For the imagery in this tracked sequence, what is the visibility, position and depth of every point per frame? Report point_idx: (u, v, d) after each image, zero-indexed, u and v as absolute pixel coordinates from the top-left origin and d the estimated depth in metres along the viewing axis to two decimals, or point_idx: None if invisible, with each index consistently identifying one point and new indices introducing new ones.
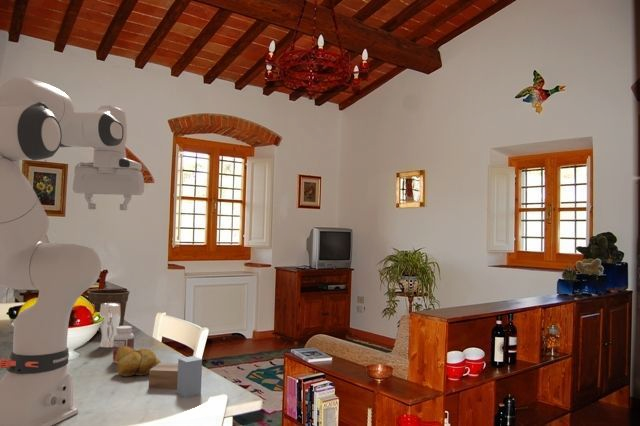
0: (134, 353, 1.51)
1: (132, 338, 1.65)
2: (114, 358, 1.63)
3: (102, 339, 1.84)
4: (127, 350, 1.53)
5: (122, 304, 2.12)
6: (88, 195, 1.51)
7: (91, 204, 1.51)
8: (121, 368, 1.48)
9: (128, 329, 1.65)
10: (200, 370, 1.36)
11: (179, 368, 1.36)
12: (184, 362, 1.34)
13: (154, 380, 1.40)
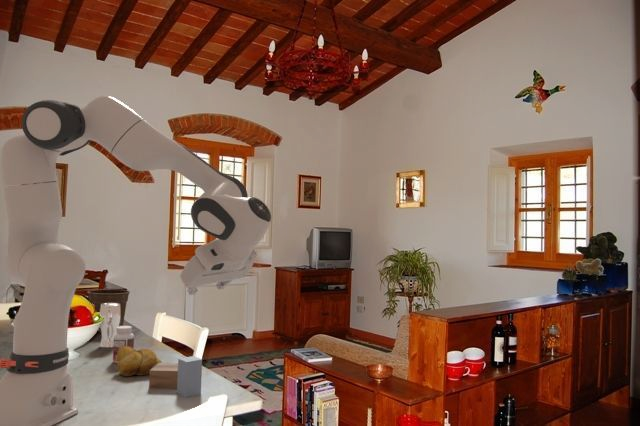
0: (134, 353, 1.51)
1: (132, 338, 1.65)
2: (114, 358, 1.63)
3: (102, 339, 1.84)
4: (127, 350, 1.53)
5: (122, 304, 2.12)
6: None
7: None
8: (122, 368, 1.49)
9: (128, 329, 1.65)
10: (200, 370, 1.36)
11: (179, 368, 1.36)
12: (184, 362, 1.34)
13: (154, 381, 1.40)
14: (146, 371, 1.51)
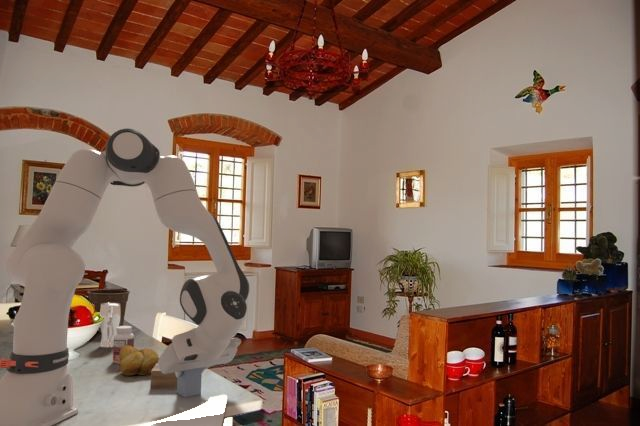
0: (136, 352, 1.52)
1: (132, 338, 1.65)
2: (114, 358, 1.63)
3: (102, 339, 1.84)
4: (129, 349, 1.53)
5: (122, 304, 2.12)
6: None
7: None
8: (123, 367, 1.49)
9: (128, 329, 1.65)
10: (200, 370, 1.36)
11: None
12: None
13: (156, 381, 1.39)
14: (147, 371, 1.51)
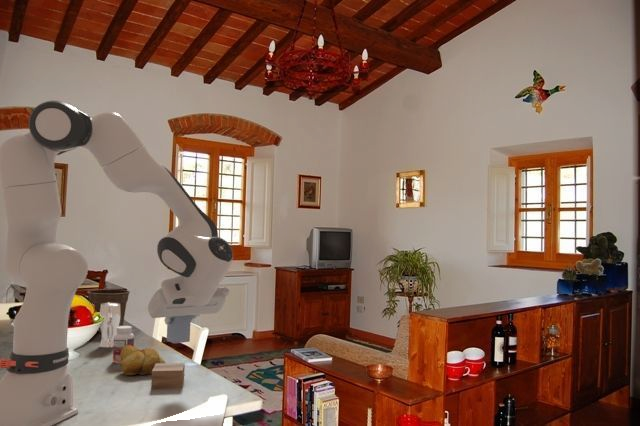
0: (137, 352, 1.52)
1: (132, 338, 1.65)
2: (114, 358, 1.63)
3: (102, 339, 1.84)
4: (131, 349, 1.54)
5: (122, 304, 2.12)
6: None
7: None
8: (124, 367, 1.49)
9: (128, 329, 1.65)
10: (189, 318, 1.40)
11: None
12: None
13: (156, 381, 1.39)
14: (148, 370, 1.51)
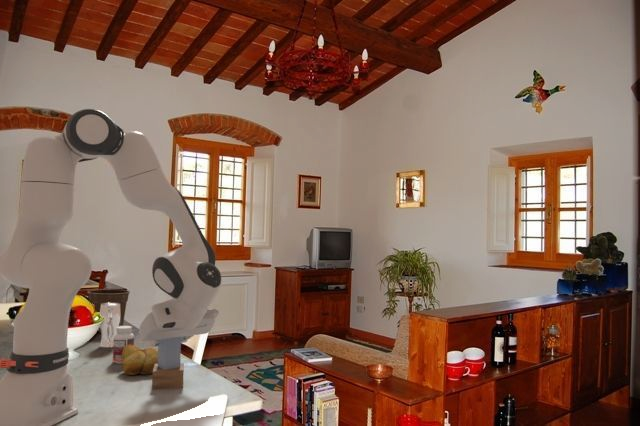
0: (138, 352, 1.53)
1: (132, 338, 1.65)
2: (114, 358, 1.63)
3: (102, 339, 1.84)
4: (132, 349, 1.54)
5: (122, 304, 2.12)
6: None
7: None
8: (125, 367, 1.50)
9: (128, 329, 1.65)
10: (179, 344, 1.44)
11: None
12: None
13: (157, 381, 1.39)
14: (149, 370, 1.52)
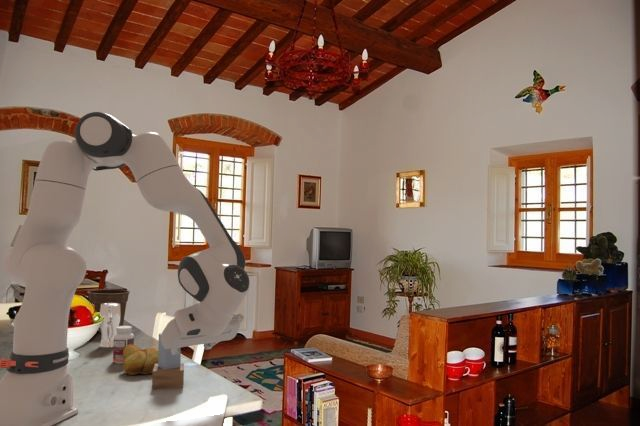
0: (139, 352, 1.53)
1: (132, 338, 1.65)
2: (114, 358, 1.63)
3: (102, 339, 1.84)
4: (133, 348, 1.54)
5: (122, 304, 2.12)
6: None
7: None
8: (126, 366, 1.50)
9: (128, 329, 1.65)
10: None
11: (159, 343, 1.43)
12: None
13: (157, 381, 1.39)
14: (150, 370, 1.52)
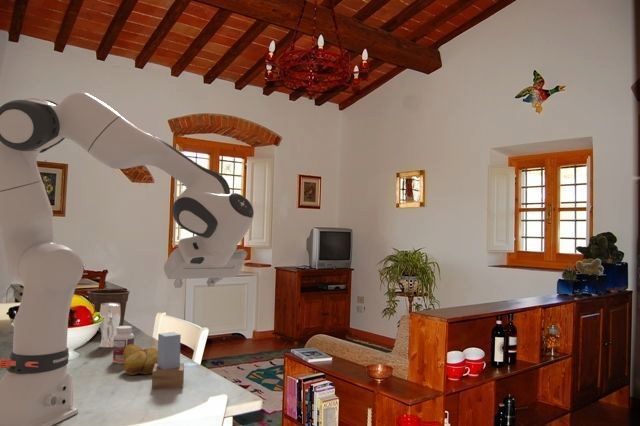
0: (139, 352, 1.53)
1: (132, 338, 1.65)
2: (114, 358, 1.63)
3: (102, 339, 1.84)
4: (133, 348, 1.54)
5: (122, 304, 2.12)
6: None
7: None
8: (126, 366, 1.50)
9: (128, 329, 1.65)
10: (179, 344, 1.44)
11: (159, 343, 1.44)
12: (163, 337, 1.42)
13: (157, 381, 1.39)
14: (150, 370, 1.52)
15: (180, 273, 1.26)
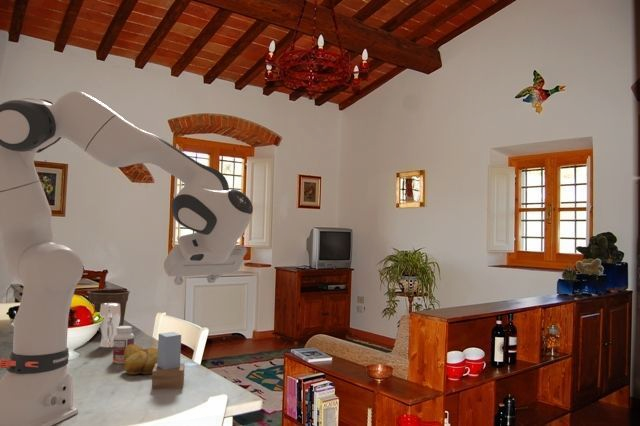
0: (140, 351, 1.53)
1: (132, 338, 1.65)
2: (114, 358, 1.63)
3: (102, 339, 1.84)
4: (134, 348, 1.55)
5: (122, 304, 2.12)
6: None
7: None
8: (127, 366, 1.50)
9: (128, 329, 1.65)
10: (179, 345, 1.44)
11: (159, 343, 1.43)
12: (164, 337, 1.42)
13: (157, 381, 1.39)
14: (151, 370, 1.52)
15: (180, 270, 1.26)
